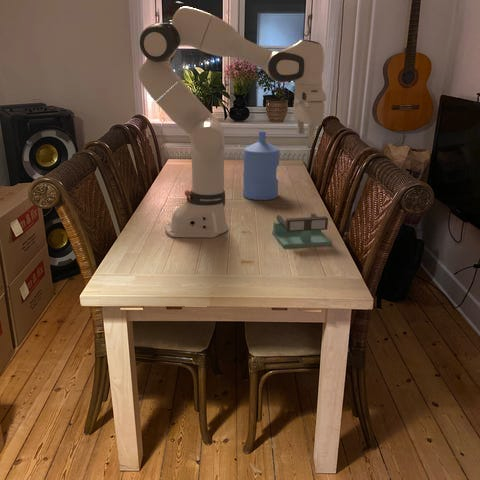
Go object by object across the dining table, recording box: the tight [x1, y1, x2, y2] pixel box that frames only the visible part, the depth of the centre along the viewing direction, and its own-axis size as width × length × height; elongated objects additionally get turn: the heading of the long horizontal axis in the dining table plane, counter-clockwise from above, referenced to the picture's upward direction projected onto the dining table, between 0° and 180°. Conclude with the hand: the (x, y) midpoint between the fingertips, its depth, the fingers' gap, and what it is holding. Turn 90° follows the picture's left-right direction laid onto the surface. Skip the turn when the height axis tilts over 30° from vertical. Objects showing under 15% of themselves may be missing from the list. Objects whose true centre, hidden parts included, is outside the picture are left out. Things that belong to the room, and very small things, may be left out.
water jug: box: [242, 131, 281, 201], centre depth 220 cm, size 16×16×28 cm
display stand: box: [271, 220, 333, 249], centre depth 174 cm, size 17×14×5 cm
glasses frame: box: [276, 213, 329, 232], centre depth 174 cm, size 14×13×4 cm
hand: (305, 136), depth 170 cm, fingers open, 8 cm apart
